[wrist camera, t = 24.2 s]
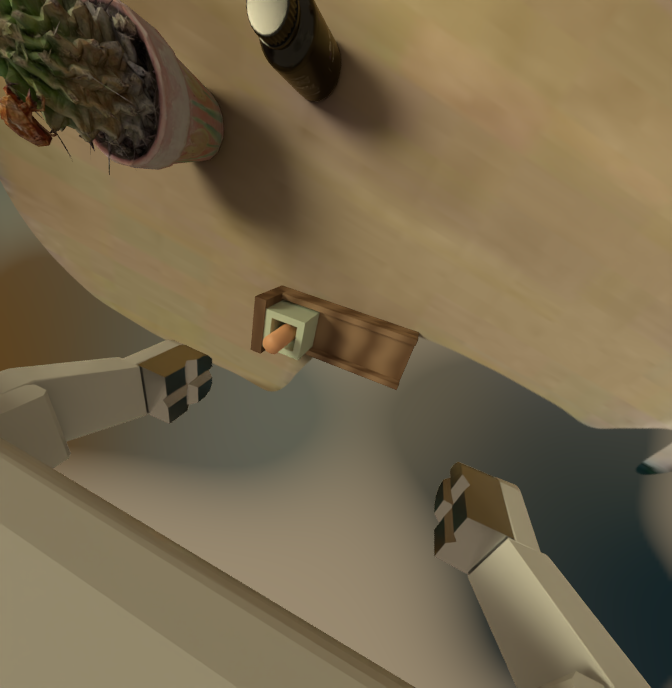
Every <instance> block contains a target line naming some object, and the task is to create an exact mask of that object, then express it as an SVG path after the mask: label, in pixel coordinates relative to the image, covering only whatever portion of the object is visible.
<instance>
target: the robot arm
mask: <svg viewBox="0 0 672 688" xmlns="http://www.w3.org/2000/svg"><path fill="white" fill-rule="evenodd" d="M211 367H212V358H211V357H210V356H208V355H206V354H204V353H202V352H200V351H197V350H195V349H193V348H191V347H189V346H187V345H183V344H181V343H179V342H177V341H175V340H165V341H163V342H161V343H159V344H156V345H154V346H151V347H149V348H147V349H144V350H142V351H139V352H137V353H135V354H133V355H130V356H128V357H126V358H123V359H122V358H119V357H115V358H105V359H96V360H86V361H77V362H68V363H58V364H48V365H40V366H30V367H20V368H11V369H7V370H4V371H1V372H0V688H415V687H414V686H412V685H410V684H409V683H407V682H405V681H404V680H402V679H400V678H399V677H397V676H395V675H393V674H392V673H391V672H389V671H387V670H385V669H384V668H382V667H381V666H379V665H377V664H376V663H374V662H372V661H371V660H369V659H367V658H366V657H364V656H362V655H361V654H359V653H357V652H356V651H354V650H352V649H351V648H349V647H347V646H346V645H344V644H343V643H341V642H339V641H338V640H336V639H334V638H333V637H331V636H329V635H327V634H326V633H324V632H323V631H321V630H319V629H318V628H316V627H314V626H313V625H311V624H309V623H308V622H306V621H304V620H303V619H301V618H299V617H298V616H296V615H294V614H293V613H291V612H290V611H288V610H286V609H284V608H283V607H281V606H280V605H278V604H276V603H275V602H273V601H271V600H270V599H268V598H266V597H265V596H263V595H261V594H260V593H258V592H256V591H255V590H253V589H251V588H250V587H248V586H246V585H245V584H243V583H242V582H240V581H238V580H237V579H235V578H233V577H232V576H230V575H228V574H227V573H225V572H223V571H221V570H220V569H218V568H217V567H215V566H213V565H212V564H210V563H208V562H207V561H205V560H203V559H202V558H200V557H199V556H197V555H195V554H193V553H192V552H190V551H188V550H187V549H185V548H184V547H182V546H180V545H179V544H177V543H175V542H174V541H172V540H170V539H169V538H167V537H165V536H164V535H162V534H160V533H159V532H157V531H155V530H154V529H152V528H151V527H149V526H147V525H146V524H144V523H142V522H141V521H139V520H137V519H136V518H134V517H132V516H131V515H129V514H127V513H126V512H124V511H122V510H120V509H119V508H117V507H116V506H114V505H112V504H111V503H109V502H107V501H106V500H104V499H102V498H101V497H99V496H97V495H96V494H94V493H92V492H91V491H89V490H87V489H86V488H84V487H83V486H81V485H79V484H78V483H76V482H74V481H73V480H71V479H69V478H68V477H66V476H64V475H63V474H61V473H59V472H58V471H56V470H54V469H53V468H55V467H56V466H58V465H59V464H61V463H62V462H64V461H65V460H67V459H68V458H69V456H70V454H71V453H70V450H69V448H68V446H67V441H70V440H72V439H76V438H79V437H82V436H85V435H88V434H91V433H94V432H97V431H100V430H103V429H106V428H109V427H112V426H115V425H118V424H121V423H124V422H128V421H131V420H133V419H137V418H140V417H143V416H146V415H147V414H149V415H151V416H154V417H156V418H158V419H160V420H162V421H165V422H167V423H169V424H170V423H172V422H173V421H174V420H176V419H177V418H178V417H179V416H181V415H182V414H184V413H185V412H186V411H187V410H188V406H189V405H190V404H194V403H198V402H199V401H201V400H202V399H203V398H205V396H206V395H207V393H208V392H209V391H210V389H211V386H212V376H211V374H210V372H209V370H210V369H211ZM434 514H435V516H436V518H437V520H438V521H439V524H438V525H437V526H436V528H435V529H434V556H435V557H436V558H438V559H440V560H442V561H444V562H445V563H448V564H449V565H451V566H453V567H455V568H457V569H459V570H460V571H462V572H464V573H466V574H468V578H469V581H470V583H471V585H472V588H473V590H474V592H475V594H476V596H477V599H478V601H479V603H480V605H481V608H482V610H483V612H484V615H485V617H486V619H487V621H488V624H489V626H490V628H491V631H492V633H493V635H494V637H495V639H496V642H497V644H498V646H499V648H500V651H501V653H502V655H503V658H504V660H505V662H506V664H507V667H508V669H509V671H510V673H511V676H512V678H513V680H514V683H515V685H516V687H517V688H651V687H650V686H649V685H648V684H647V682H646V681H645V680H644V678H643V677H642V676H641V674H640V673H639V672H638V670H637V669H636V668H635V667H634V665H633V664H632V663H631V662H630V660H629V659H628V658H627V656H626V655H625V654H624V653H623V651H622V650H621V649H620V648H619V646H618V645H617V644H616V643H615V641H614V640H613V639H612V637H611V636H610V635H609V634H608V632H607V631H606V630H605V629H604V627H603V626H602V625H601V623H600V622H599V621H598V619H597V618H596V617H595V616H594V614H593V613H592V612H591V611H590V609H589V608H588V607H587V606H586V604H585V603H584V602H583V600H582V599H581V598H580V596H579V595H578V594H577V593H576V591H575V590H574V589H573V588H572V586H571V585H570V584H569V583H568V581H567V580H566V579H565V577H564V576H563V575H562V573H561V572H560V571H559V570H558V568H557V567H556V566H555V565H554V563H553V562H552V561H551V559H550V558H549V557H548V556H547V555H545V554H543V553H541V552H540V549H539V546H538V543H537V540H536V537H535V534H534V531H533V528H532V525H531V522H530V519H529V516H528V513H527V510H526V507H525V504H524V501H523V498H522V495H521V492H520V490H519V489H518V487H517V486H516V485H514V484H511V483H509V482H506V481H504V480H501V479H499V478H497V477H493V476H491V475H489V474H486V473H484V472H482V471H479V470H476V469H474V468H472V467H470V466H467V465H465V464H462V463H460V462H457V463H455V464H454V465H453V466H452V468H451V469H450V478H447V479H445V480H443V481H442V482H441V484H440V486H439V487H438V490H437V493H436V496H435V503H434Z"/></svg>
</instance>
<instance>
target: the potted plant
mask: <svg viewBox="0 0 672 688" xmlns="http://www.w3.org/2000/svg"><path fill="white" fill-rule="evenodd" d="M0 76H3V77H4V79H5V82H6V84H7V85H6V86H5V87H4V88H3V89H4V91H5V93H6V95H7V96H3V97H1V98H0V103H1V107H0V114H1V119H2V120H4V122H5V124H6V125H7V126H8V127H10V128H11V129H12V130H13V131H14V132H15V133H17V134H18V135H19V136H20V137H22V138H24V139H26V140H27V141H29V142H31V143H33V144H35V145H37V146H38V147H40V146H49V145H50V143H51V140H52V137H51V136H53V137H55V136H56V135H58V134H57V133H56V132H57V131H59V130H61V131H63V130H64V129H65V127H66V126H69V127H71V128H73V129H76V130H77V132H78V133H79V134H80V135H79V137H81V138H83V139H84V140H85V141H86V142H89V143H90V154H91V146H92V148H93V149H94V146H93V143H94V144H95V145H96V146H97V147H98V148H99V149H100V150H101V151H102V152H103V153H104V154H105V155H106V156H107V157H108V158H109V175H110V159H111V160H113V161H114V162H116V163H119V164H123V165H126V166H130V167H134V168H144V169H158V170H159V169H162V168H166V167H169V166H172V165H173V164H176V163H185V162H196V161H205V160H210V159H211V158H212V157H213V156H214V155H216V154H217V153H218V151H219V148H220V145H221V143H222V140H223V136H224V126H223V116H222V113H221V110H220V107H219V105H218V103H217V101H216V100H215V98H214V97H213V95H212V93H211V92H210V91H209V90H208V89H207V88H206V87H205V86H204V85H203V84H202V83H201V82H200V81H199V80H198V79H197V78H196V77H195V76H194V75H193V74H192V73H191V72H190V71H189V70H188V69H187V68H186V67H185V66H184V64H183V63H182V62H181V61H180V60H179V59H178V58H177V57H176V56H175V53H174V51H173V50H172V49H171V47H170V46H169V45H168V44H167V42H166V41H165V40H164V38H163V37H162V36H161V35H160V33H159V32H158V31H157V30H156V29H155V28H154V27H153V26H151V25H150V24H149V23H148V22H146V21H145V20H144V19H143V18H141V17H140V16H139V15H138V14H137V13H135V12H134V11H133V10H132V9H130V8H129V7H128V6H127V5H125V4H124V3H122V2H121V1H119V0H0ZM36 111H40V112H41V113H42V114H43V117H44V119H45V121H46V123H47V124H48V125H49V127H50V128H51V132H49V131H47V130H46V129H45V128H44V127H43V126H42V125H40V124H39V122H38V121H37V120H36V119H35V118H34V117H33V116H32V112H36ZM36 113H37V112H36ZM37 114H38V113H37ZM38 115H39V114H38ZM39 116H40V115H39ZM40 117H41V116H40ZM41 118H42V117H41ZM42 119H43V118H42ZM51 133H55V134H53V135H52V134H51ZM58 137H59V136H58ZM59 139H60V137H59ZM60 140H61V139H60ZM61 142H62V141H61ZM62 143H63V142H62ZM63 145H64V144H63ZM64 147H65V145H64ZM65 149H66V147H65ZM66 150H67V149H66ZM94 151H95V150H94ZM67 152H68V150H67ZM68 154H69V152H68ZM69 155H70V154H69ZM70 157H71V156H70ZM72 162H73V161H72ZM136 171H137V170H136Z"/></svg>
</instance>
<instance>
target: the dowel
mask: <svg viewBox="0 0 672 688" xmlns="http://www.w3.org/2000/svg"><path fill="white" fill-rule="evenodd" d="M296 331H297V327H295V326H292V325H290V324H287V323H285V324H284V325H282V326H281V327H279V328H278V329H276V330H275V331H273V332H272V333H270V334H269V335H267V336H266V337H265V338H264V339H263V347H264V348H265V350H266V351H267V352H269V353H271V354H276V353H278V352H279V351H280V350H281V349H283V348H284V347H285V346H286V345H287V344H289V343H290V342H291V341H292V340H294V339H295V337H296Z"/></svg>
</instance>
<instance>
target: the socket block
mask: <svg viewBox="0 0 672 688" xmlns="http://www.w3.org/2000/svg"><path fill="white" fill-rule="evenodd" d="M319 314H320V312H318V311H315V310H313V309H310V308H307V307H304V306H301V305H298V304H296V303H293V302H290V301H287V300H282V301H280V302H278V303H276V304H274V305H272V306H270V307H268V308H266V313H265V323H264V332H263V339H264V338H265V337H266V336H267V335H269V334H270V333H272V332H273V331H275V330H276V329H278V328H279V327H281V326H282V325H284V324H285V323H287V324H290V325H292V326H295V327H297V331H296V337H295V339H294V340H292V341H291V342H290V343H289V344H287V345H286V346H285V347H284V348H283V349H281V350H280V351H279V353H281V354H284V355H286V356H289V357H291V358H294V359H296V360H299V359H300V358H301V357H302V356H303V355H304V354H305V353H306V352H307V351H308V350H309V349H310V348H311V347H312V346H313V342H314V337H315V332H316V328H317V323H318V318H319ZM262 346H263V342H262Z"/></svg>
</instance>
